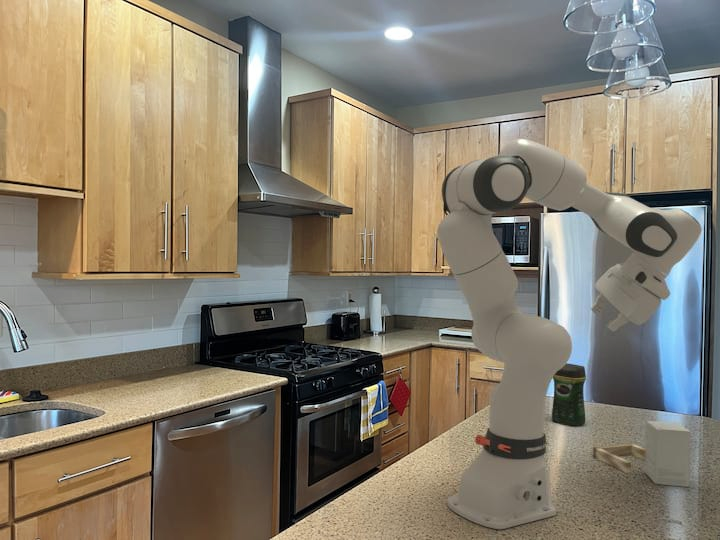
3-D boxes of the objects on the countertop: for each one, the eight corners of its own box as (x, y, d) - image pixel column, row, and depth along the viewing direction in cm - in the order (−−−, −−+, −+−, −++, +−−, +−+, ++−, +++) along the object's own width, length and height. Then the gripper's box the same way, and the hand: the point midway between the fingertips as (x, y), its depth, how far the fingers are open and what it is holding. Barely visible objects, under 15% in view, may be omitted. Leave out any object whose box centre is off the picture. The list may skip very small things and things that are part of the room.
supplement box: (690, 487, 120) (691, 431, 120) (654, 484, 121) (655, 428, 121) (677, 475, 127) (679, 422, 127) (644, 472, 128) (645, 419, 128)
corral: (667, 468, 131) (667, 458, 131) (626, 473, 128) (626, 462, 128) (631, 452, 142) (631, 443, 142) (593, 456, 138) (593, 447, 138)
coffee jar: (588, 423, 168) (590, 364, 168) (577, 428, 163) (578, 367, 163) (559, 416, 175) (560, 360, 175) (547, 421, 170) (548, 363, 170)
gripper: (611, 253, 133) (575, 297, 137) (652, 283, 113) (608, 332, 117) (631, 266, 134) (595, 309, 138) (674, 297, 114) (631, 346, 118)
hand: (601, 320), depth 127 cm, fingers open, 8 cm apart
